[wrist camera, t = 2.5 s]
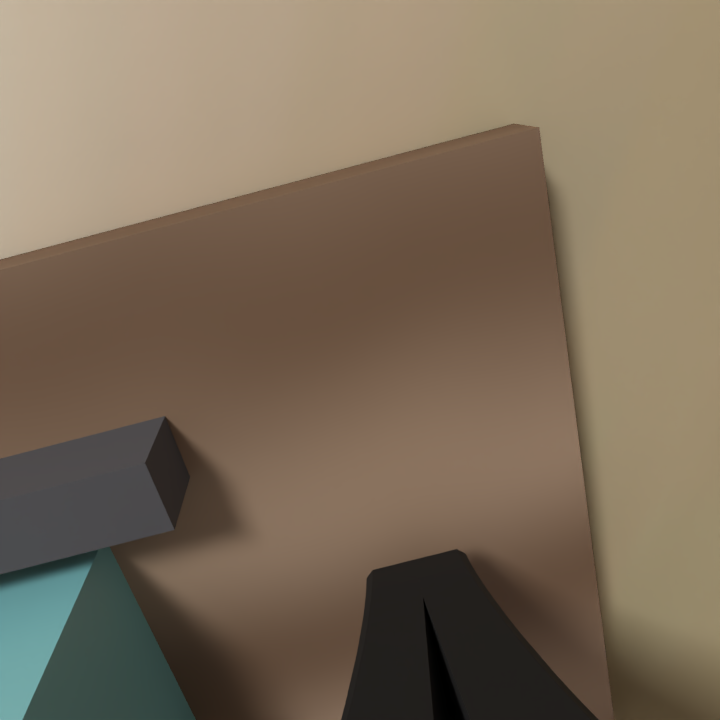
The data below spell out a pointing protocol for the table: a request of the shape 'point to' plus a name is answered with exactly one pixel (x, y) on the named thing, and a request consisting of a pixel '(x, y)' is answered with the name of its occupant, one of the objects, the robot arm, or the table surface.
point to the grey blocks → (90, 494)
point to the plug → (80, 646)
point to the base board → (327, 411)
